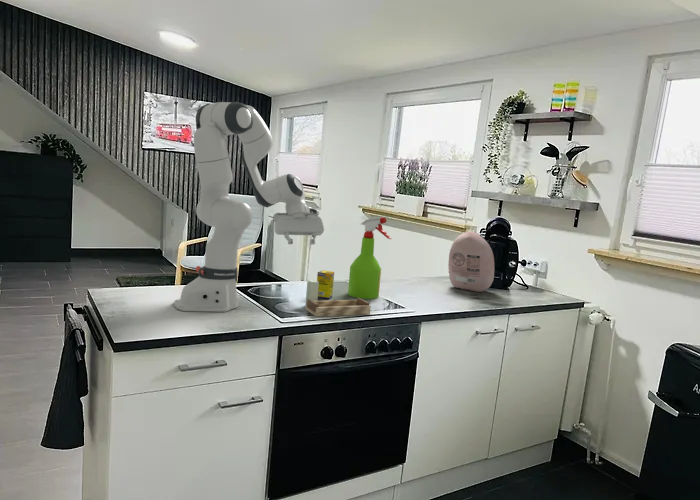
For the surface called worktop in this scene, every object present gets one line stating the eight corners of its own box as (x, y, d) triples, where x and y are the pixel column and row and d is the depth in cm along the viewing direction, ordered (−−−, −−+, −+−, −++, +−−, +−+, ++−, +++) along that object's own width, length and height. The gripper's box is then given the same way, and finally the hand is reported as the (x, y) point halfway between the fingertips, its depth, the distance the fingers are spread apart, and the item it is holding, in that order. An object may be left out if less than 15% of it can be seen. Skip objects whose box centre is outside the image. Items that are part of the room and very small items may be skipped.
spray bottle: (377, 302, 216) (385, 218, 212) (341, 294, 226) (348, 214, 222) (393, 298, 228) (401, 218, 223) (358, 290, 238) (365, 214, 233)
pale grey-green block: (309, 308, 197) (311, 282, 196) (305, 305, 200) (307, 280, 199) (316, 307, 198) (318, 282, 197) (312, 305, 202) (314, 279, 200)
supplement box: (329, 299, 214) (331, 273, 212) (315, 297, 215) (317, 271, 213) (332, 297, 219) (334, 271, 218) (318, 295, 221) (320, 269, 219)
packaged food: (495, 291, 266) (502, 233, 262) (483, 296, 249) (491, 234, 245) (454, 284, 277) (461, 228, 273) (440, 288, 260) (447, 229, 257)
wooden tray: (316, 316, 185) (317, 305, 185) (305, 309, 194) (306, 298, 193) (369, 314, 196) (370, 303, 195) (357, 307, 204) (358, 297, 204)
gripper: (274, 208, 206) (279, 240, 201) (322, 210, 215) (327, 240, 210) (270, 216, 211) (274, 247, 206) (317, 218, 220) (322, 247, 215)
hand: (301, 243), depth 208 cm, fingers open, 8 cm apart
